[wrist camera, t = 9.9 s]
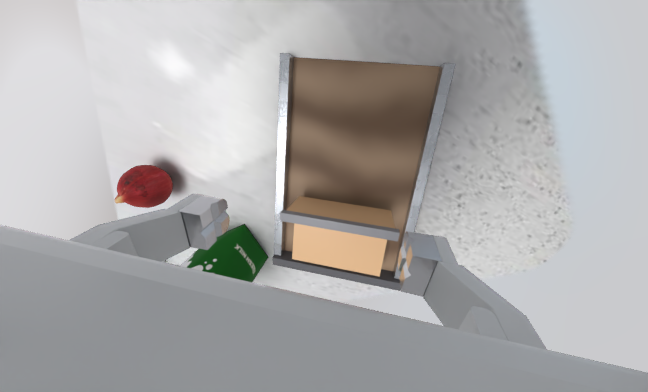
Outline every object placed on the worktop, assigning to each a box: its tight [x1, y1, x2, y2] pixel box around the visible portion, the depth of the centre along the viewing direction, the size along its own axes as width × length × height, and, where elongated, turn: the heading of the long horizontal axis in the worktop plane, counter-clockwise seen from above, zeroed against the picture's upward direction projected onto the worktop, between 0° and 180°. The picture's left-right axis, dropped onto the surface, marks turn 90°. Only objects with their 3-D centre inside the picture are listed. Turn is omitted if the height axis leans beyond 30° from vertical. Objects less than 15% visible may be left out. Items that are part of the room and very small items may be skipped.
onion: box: [115, 165, 173, 208], centre depth 32 cm, size 6×6×8 cm
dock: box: [273, 53, 456, 291], centre depth 27 cm, size 25×17×6 cm
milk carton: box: [180, 224, 268, 282], centre depth 30 cm, size 9×9×20 cm
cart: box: [280, 196, 400, 277], centre depth 27 cm, size 9×12×7 cm
